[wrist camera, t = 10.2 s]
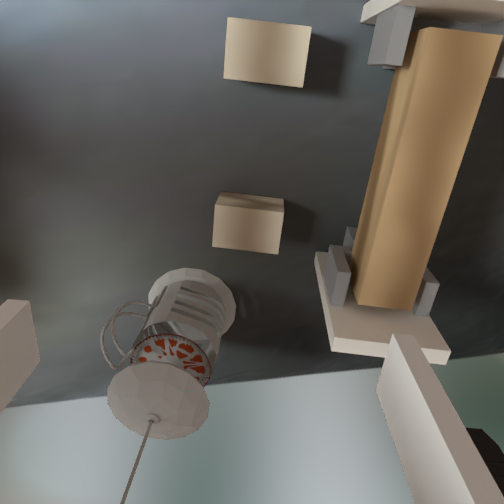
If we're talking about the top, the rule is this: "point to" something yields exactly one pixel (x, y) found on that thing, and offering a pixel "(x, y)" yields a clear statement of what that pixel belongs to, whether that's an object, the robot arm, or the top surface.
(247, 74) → the spacers
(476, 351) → the top surface
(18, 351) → the robot arm
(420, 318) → the brackets
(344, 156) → the top surface
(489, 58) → the rail
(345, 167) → the top surface
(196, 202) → the top surface
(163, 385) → the french press
